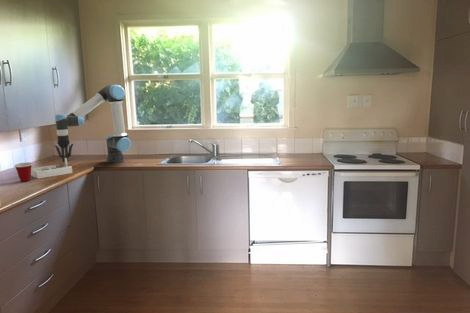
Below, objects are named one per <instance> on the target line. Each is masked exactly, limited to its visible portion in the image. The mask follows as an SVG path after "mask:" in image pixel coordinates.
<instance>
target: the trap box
mask: <svg viewBox="0 0 470 313" xmlns="http://www.w3.org/2000/svg"><path fill="white" fill-rule="evenodd" d="M67 174H73V167H72V166H69V165H68V167H62V168H56V164H53V165H45V166H38V167H33V168H32V167H31V177H33V178H35V179H37V178H38V179H42V178H50V177H57V176H61V175H62V176H63V175H67Z"/></svg>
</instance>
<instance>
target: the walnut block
mask: <svg viewBox="0 0 470 313" xmlns="http://www.w3.org/2000/svg"><path fill="white" fill-rule="evenodd" d="M55 165H56V168H62V167H66V164H65V163H64V162H62V163H56V164H55Z"/></svg>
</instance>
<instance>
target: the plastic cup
mask: <svg viewBox="0 0 470 313" xmlns="http://www.w3.org/2000/svg"><path fill="white" fill-rule="evenodd" d="M32 166H33V162H21V163H20V162H19V163H16V164H14V167H15V170H16V173H17V175H18V178H19V181H20V182H21V183H27V181H28V182H30V181H31V179H32V178H31V177H32V176H31V168H32Z"/></svg>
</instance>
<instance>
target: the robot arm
mask: <svg viewBox="0 0 470 313" xmlns="http://www.w3.org/2000/svg"><path fill="white" fill-rule="evenodd" d="M125 91H126V90H125V89H124V88H123V86H121V85H119V84H108V85H106V86H104V87H103V88H101V89H100V90H98V91H97V92H96V94H95V95H94V96H93V97H91V98H90V99H89V100H87V101H85V102H84V103H83V104H81V105H80V106H79V107H77V108H76V109H75V110H73V111H72V112H70V113H69V114H68V115H67V114H66V113H61V114H60V113H59V114H55V116H54V117H55V126H56V135H57V136H56V137H57V143H56V145H55V144H54V148H55V149H56V151H57V154H58V156H59V157H58V158H62V163H65V164H66V167H69V165H68V162H69V158H70V157H71V156H72V148H73V146H74V144H73V143H71V142H70V139H69V138H70V137H69V129H68V128H70V127H81V126H84V124H85V119H84V116H87V115H88V114H89V113H90V112H91V111H93V110H94V109H96V108H97V107H98V106H99V105H101V104H102V103H106V102H108V103H109V105H110V109H111V115H112V121H113V122H112V123H113V132H114V134H113V135H112V134H111V135H107V136H106V139H105V140H106V149H107V150H106V151H107V154H106V159H105V161H106V162H105V163H107V164H117V163H119V164H120V163H123V162H125V161H126V160H125V157H124V154H123V152H127V151H128V150H129V149H130V148H131V145H132V142H131V140H130V139H129V135H128V133H127V132H126V128H125V125H126V124H125V118H124V112H123V111H124V109H123V103H124V98H125V95H126V92H125Z"/></svg>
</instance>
